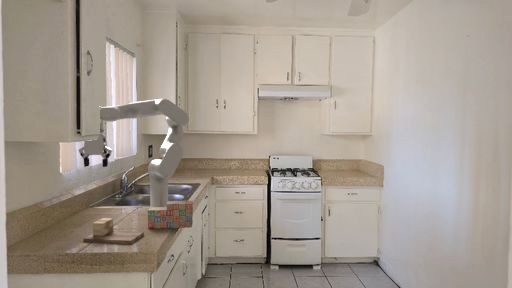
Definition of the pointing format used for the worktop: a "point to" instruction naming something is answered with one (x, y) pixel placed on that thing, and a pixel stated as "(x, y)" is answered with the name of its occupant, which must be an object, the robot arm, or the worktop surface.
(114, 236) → the board
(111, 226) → the block
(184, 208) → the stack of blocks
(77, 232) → the worktop surface
